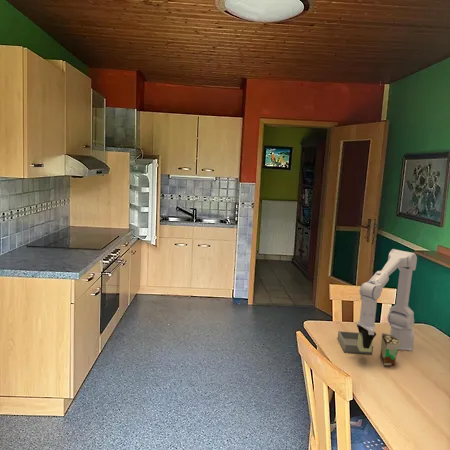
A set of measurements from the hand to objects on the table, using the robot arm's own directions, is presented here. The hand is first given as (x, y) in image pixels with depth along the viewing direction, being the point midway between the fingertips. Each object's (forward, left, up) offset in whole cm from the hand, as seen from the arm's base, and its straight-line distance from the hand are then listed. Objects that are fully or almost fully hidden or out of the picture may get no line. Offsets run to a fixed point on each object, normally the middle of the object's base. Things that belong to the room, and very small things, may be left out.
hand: (364, 345), depth 173 cm
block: (0, 0, -2) cm, 2 cm away
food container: (-11, -1, -7) cm, 13 cm away
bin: (0, -15, -7) cm, 16 cm away
